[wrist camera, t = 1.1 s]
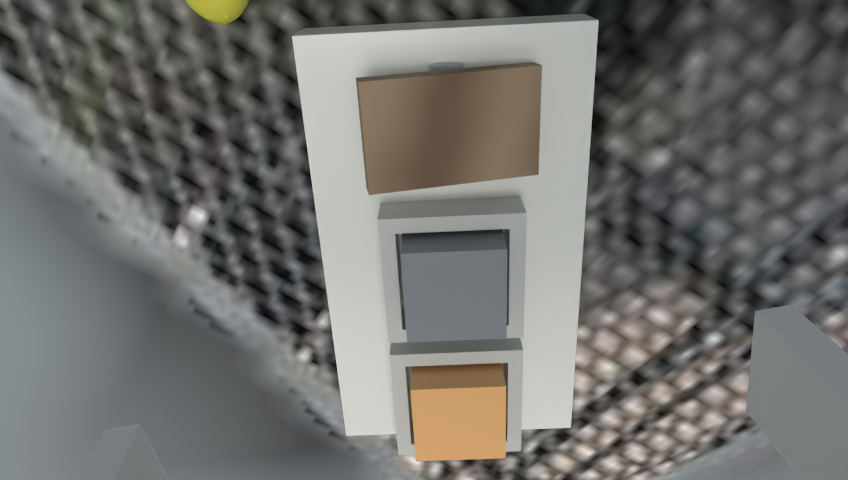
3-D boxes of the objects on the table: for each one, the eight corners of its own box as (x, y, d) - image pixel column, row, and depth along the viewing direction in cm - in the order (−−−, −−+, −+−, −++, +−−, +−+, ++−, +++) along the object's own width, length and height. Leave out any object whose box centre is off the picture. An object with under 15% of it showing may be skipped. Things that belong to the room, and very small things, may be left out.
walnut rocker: (533, 61, 28) (541, 65, 27) (530, 168, 30) (538, 174, 29) (355, 77, 26) (358, 82, 25) (366, 187, 28) (369, 195, 27)
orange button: (501, 358, 34) (506, 386, 32) (500, 427, 36) (505, 458, 34) (411, 361, 34) (410, 390, 32) (416, 430, 36) (415, 461, 34)
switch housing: (583, 13, 31) (612, 25, 26) (561, 395, 41) (578, 454, 36) (303, 28, 31) (281, 42, 26) (351, 403, 41) (341, 462, 37)
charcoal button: (501, 228, 31) (507, 249, 29) (501, 312, 33) (506, 338, 31) (402, 232, 31) (400, 253, 29) (408, 316, 33) (407, 342, 31)
